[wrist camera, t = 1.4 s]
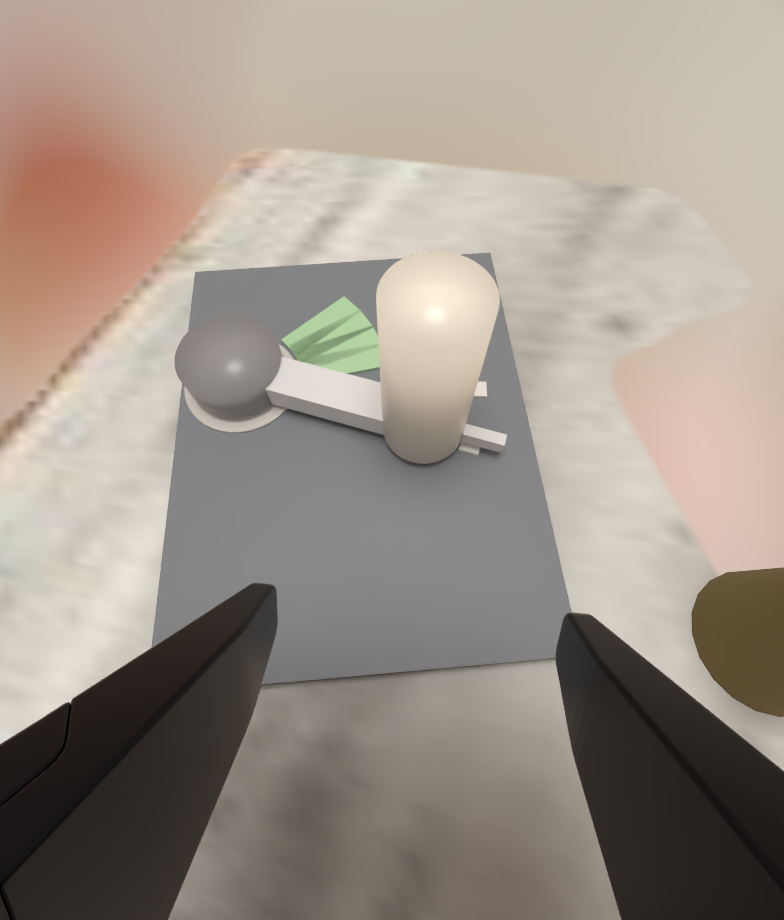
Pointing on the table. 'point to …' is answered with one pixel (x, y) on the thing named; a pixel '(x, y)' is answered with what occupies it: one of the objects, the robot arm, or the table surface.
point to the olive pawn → (744, 636)
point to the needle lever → (400, 359)
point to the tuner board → (358, 504)
